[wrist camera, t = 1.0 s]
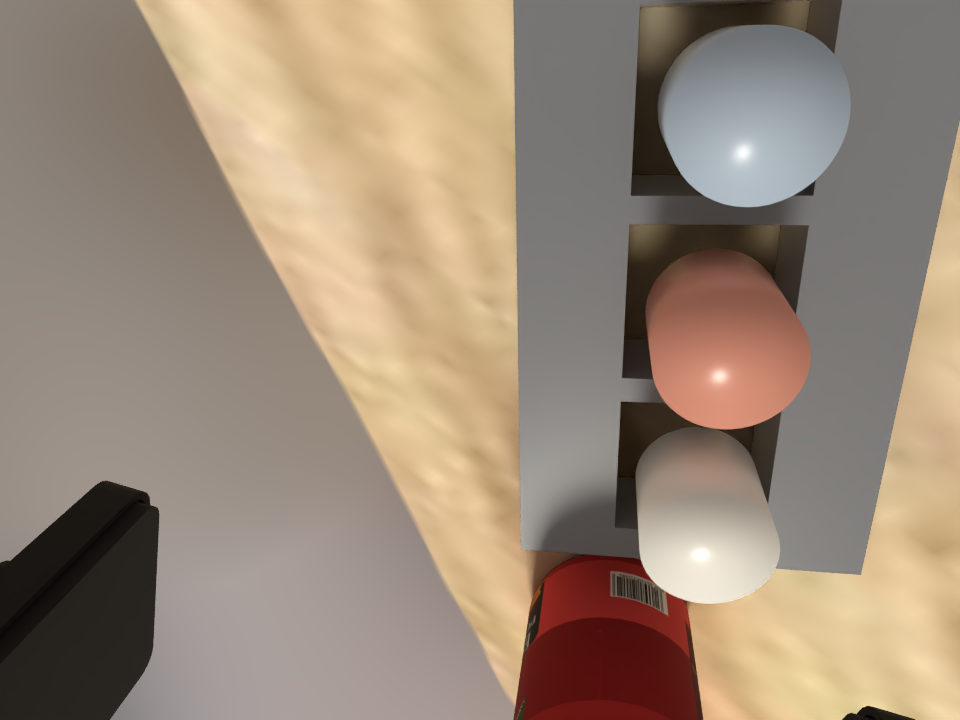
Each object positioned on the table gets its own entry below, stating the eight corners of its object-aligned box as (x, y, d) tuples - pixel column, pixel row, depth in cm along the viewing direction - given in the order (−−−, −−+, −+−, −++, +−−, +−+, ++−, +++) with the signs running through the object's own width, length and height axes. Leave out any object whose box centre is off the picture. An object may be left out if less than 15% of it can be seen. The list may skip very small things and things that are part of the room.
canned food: (508, 567, 38) (472, 756, 28) (660, 530, 36) (678, 722, 26) (562, 675, 41) (546, 884, 31) (707, 648, 38) (741, 864, 28)
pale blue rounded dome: (819, 22, 22) (864, 21, 18) (797, 177, 24) (835, 207, 20) (662, 28, 23) (673, 28, 19) (653, 178, 25) (661, 207, 21)
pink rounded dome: (787, 248, 25) (821, 291, 21) (771, 372, 27) (799, 433, 23) (649, 247, 26) (656, 288, 22) (642, 367, 28) (647, 425, 24)
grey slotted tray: (944, -55, 25) (1000, -69, 21) (834, 516, 34) (860, 575, 30) (526, -34, 27) (512, -43, 23) (529, 497, 36) (521, 549, 33)
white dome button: (762, 429, 28) (788, 497, 24) (749, 530, 30) (771, 609, 26) (638, 424, 29) (643, 489, 25) (632, 522, 31) (636, 598, 26)
